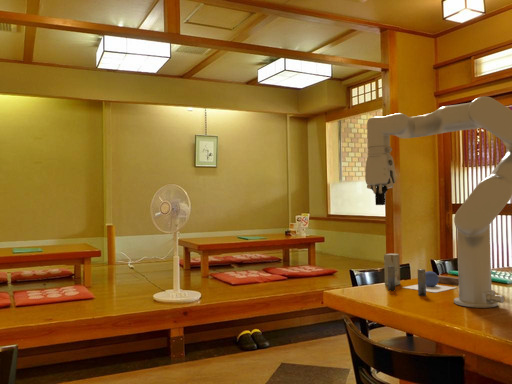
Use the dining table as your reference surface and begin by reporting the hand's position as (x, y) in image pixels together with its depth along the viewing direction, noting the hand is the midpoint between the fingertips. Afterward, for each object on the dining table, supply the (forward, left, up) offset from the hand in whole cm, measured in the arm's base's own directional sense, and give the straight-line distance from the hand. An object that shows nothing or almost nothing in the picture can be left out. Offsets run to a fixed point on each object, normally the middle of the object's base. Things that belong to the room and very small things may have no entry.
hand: (380, 204), depth 164 cm
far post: (+6, -13, -32) cm, 35 cm away
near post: (-7, -13, -32) cm, 35 cm away
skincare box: (+14, -23, -32) cm, 42 cm away
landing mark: (0, -27, -32) cm, 42 cm away
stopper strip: (0, -41, -32) cm, 52 cm away
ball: (+1, -29, -29) cm, 41 cm away
